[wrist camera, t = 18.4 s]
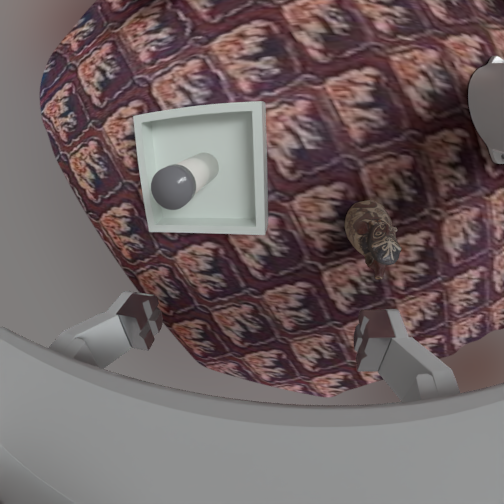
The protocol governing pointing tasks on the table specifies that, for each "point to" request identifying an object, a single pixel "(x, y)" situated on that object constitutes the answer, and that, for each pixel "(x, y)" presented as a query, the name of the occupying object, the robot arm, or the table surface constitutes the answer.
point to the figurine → (372, 235)
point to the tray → (227, 155)
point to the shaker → (183, 180)
